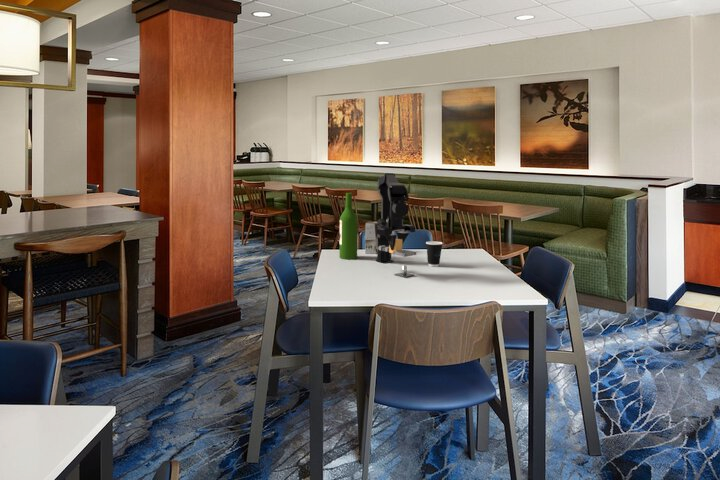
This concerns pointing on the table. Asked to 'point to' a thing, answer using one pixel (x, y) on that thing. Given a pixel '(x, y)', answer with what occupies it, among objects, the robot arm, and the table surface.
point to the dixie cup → (434, 253)
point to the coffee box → (371, 237)
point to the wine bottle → (348, 231)
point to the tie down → (397, 249)
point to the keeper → (404, 272)
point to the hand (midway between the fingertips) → (395, 249)
